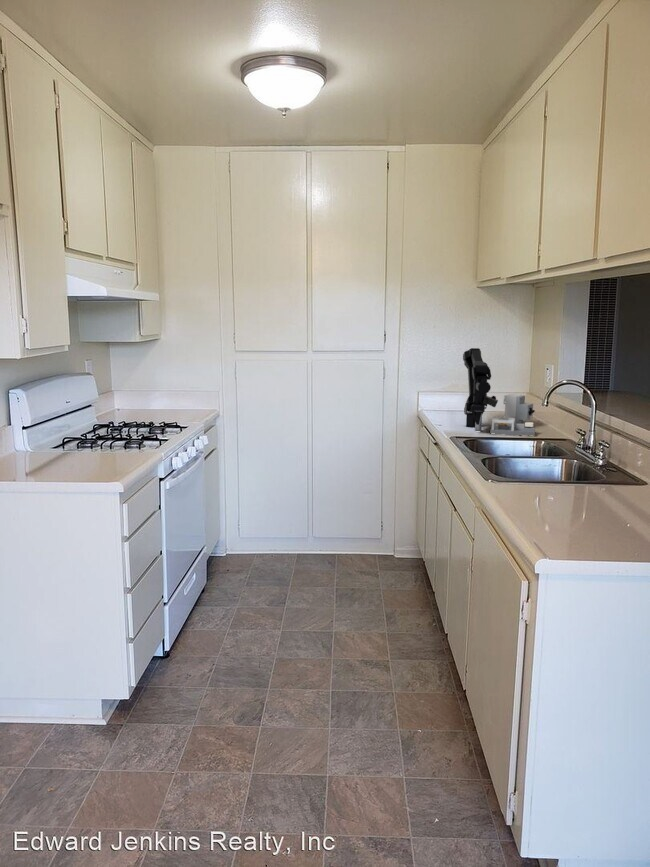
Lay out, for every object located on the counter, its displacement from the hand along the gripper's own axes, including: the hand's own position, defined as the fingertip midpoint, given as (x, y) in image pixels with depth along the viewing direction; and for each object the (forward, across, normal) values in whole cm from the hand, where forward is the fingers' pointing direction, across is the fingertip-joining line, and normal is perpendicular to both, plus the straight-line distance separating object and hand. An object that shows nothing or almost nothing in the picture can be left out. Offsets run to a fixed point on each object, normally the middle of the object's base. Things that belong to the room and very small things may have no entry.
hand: (478, 423), depth 313 cm
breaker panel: (+4, +1, -16) cm, 17 cm away
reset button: (+1, +1, -12) cm, 12 cm away
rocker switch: (0, +1, -23) cm, 23 cm away
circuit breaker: (+4, +23, -18) cm, 30 cm away
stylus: (+4, 0, 0) cm, 4 cm away
